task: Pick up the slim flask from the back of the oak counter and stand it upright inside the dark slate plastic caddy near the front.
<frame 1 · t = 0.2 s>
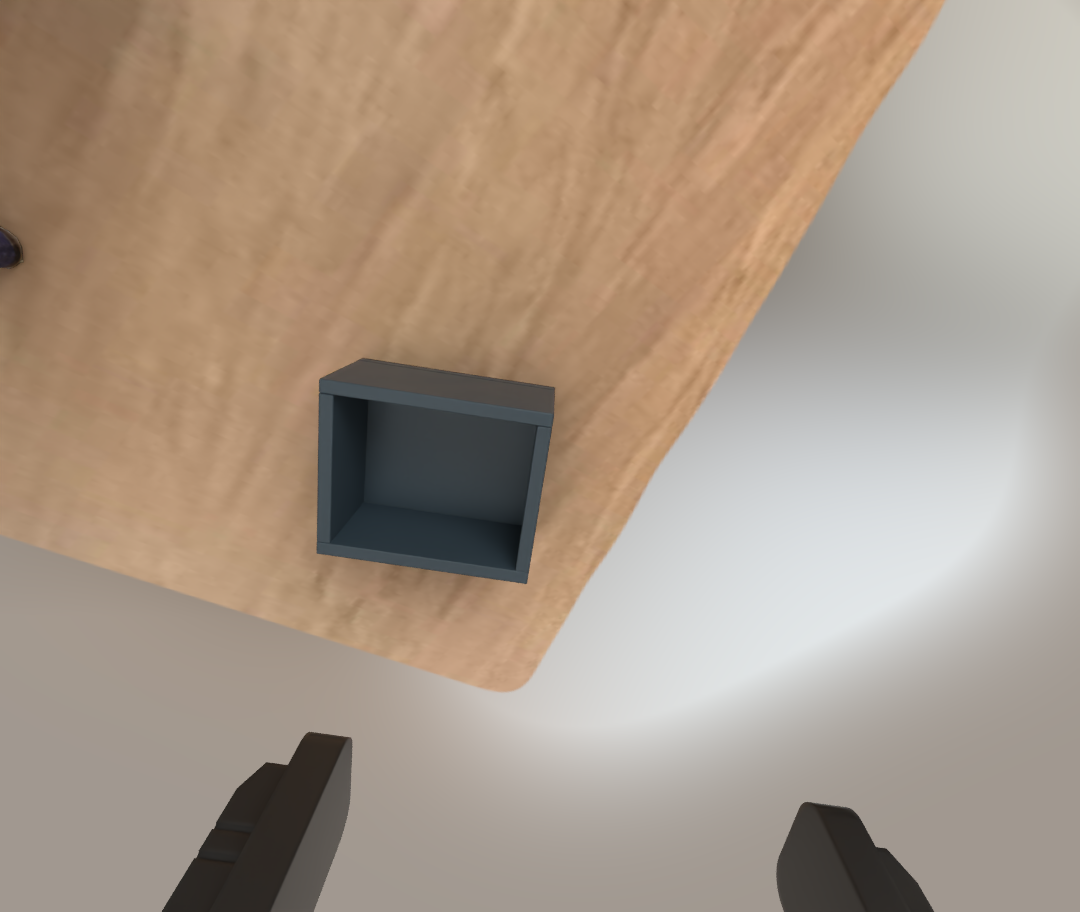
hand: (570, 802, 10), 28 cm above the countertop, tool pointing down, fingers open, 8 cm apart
caddy: (451, 449, 37), on the countertop
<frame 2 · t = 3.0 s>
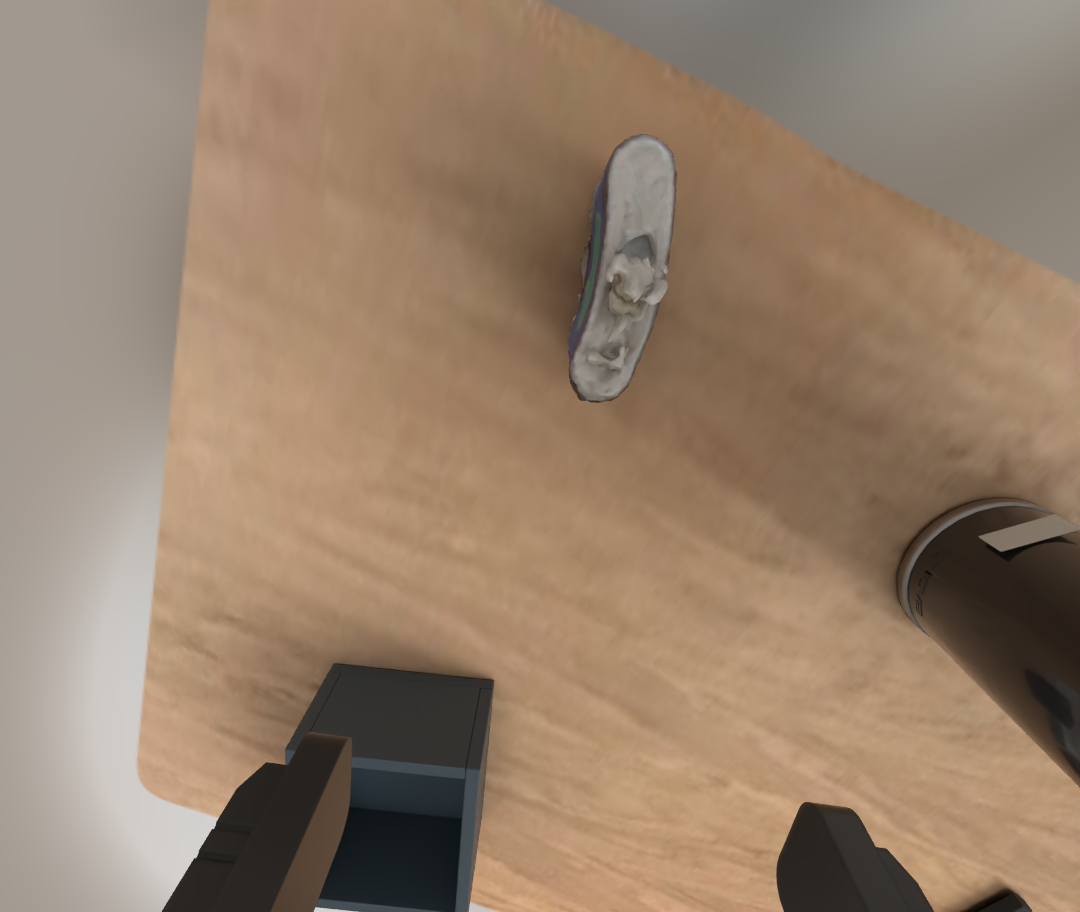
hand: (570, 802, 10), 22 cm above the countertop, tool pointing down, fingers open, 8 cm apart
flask: (605, 276, 28), on the countertop
caddy: (411, 744, 38), on the countertop
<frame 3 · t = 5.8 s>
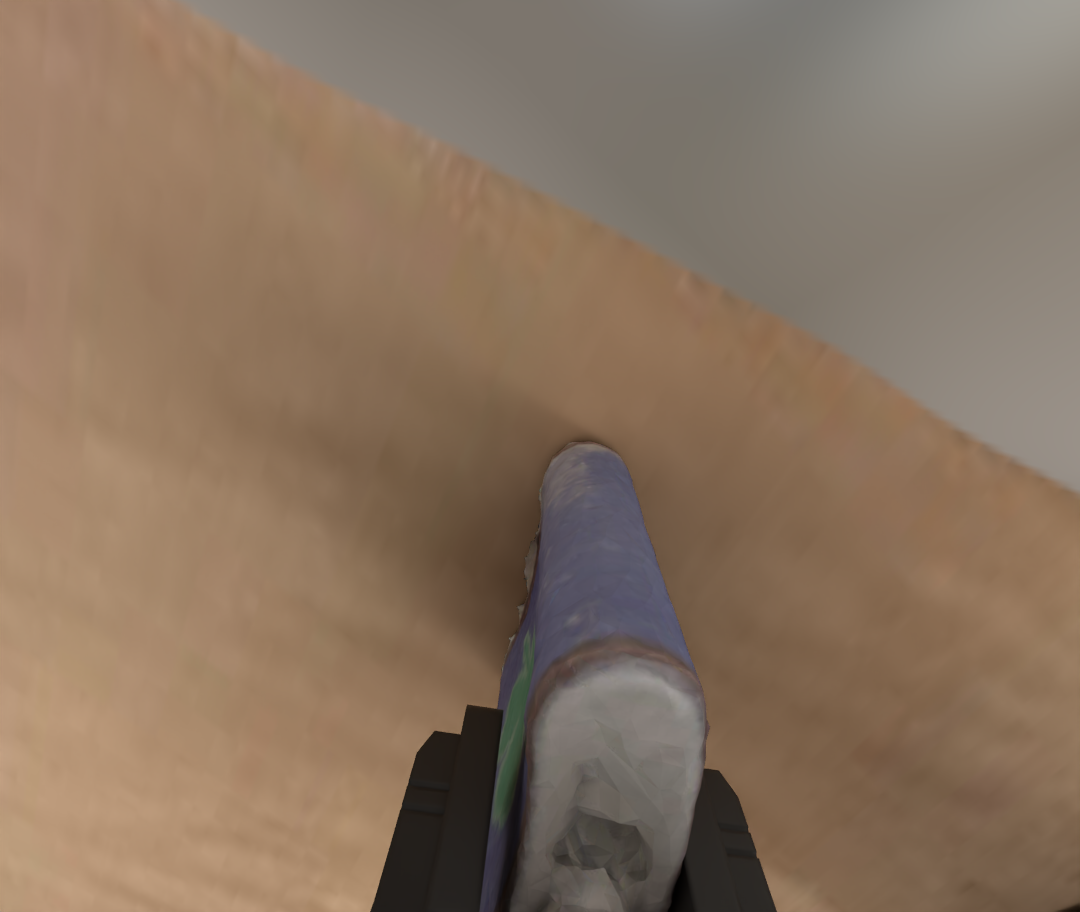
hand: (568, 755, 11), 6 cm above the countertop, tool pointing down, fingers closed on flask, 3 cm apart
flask: (564, 579, 17), on the countertop, touching gripper
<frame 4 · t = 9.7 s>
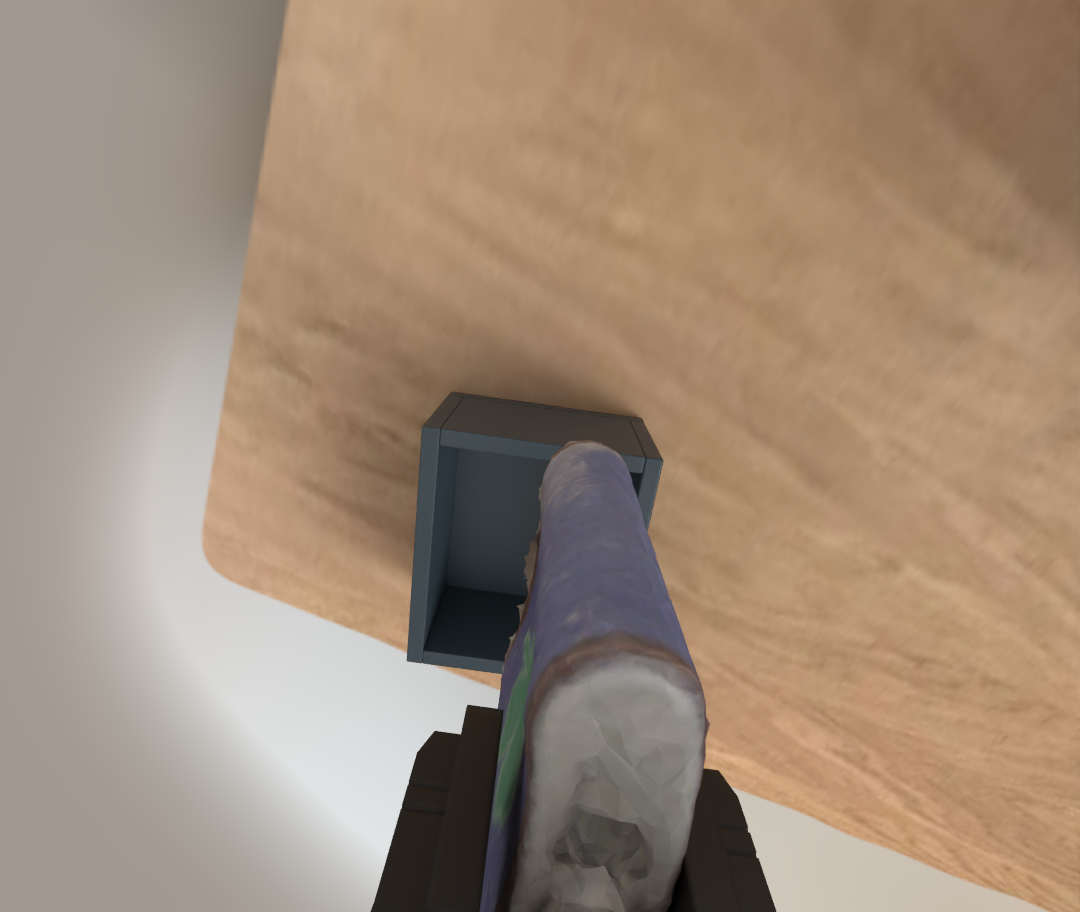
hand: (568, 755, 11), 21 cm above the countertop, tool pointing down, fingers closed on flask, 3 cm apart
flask: (565, 578, 17), point 15 cm above the countertop, touching gripper
caddy: (532, 508, 32), on the countertop
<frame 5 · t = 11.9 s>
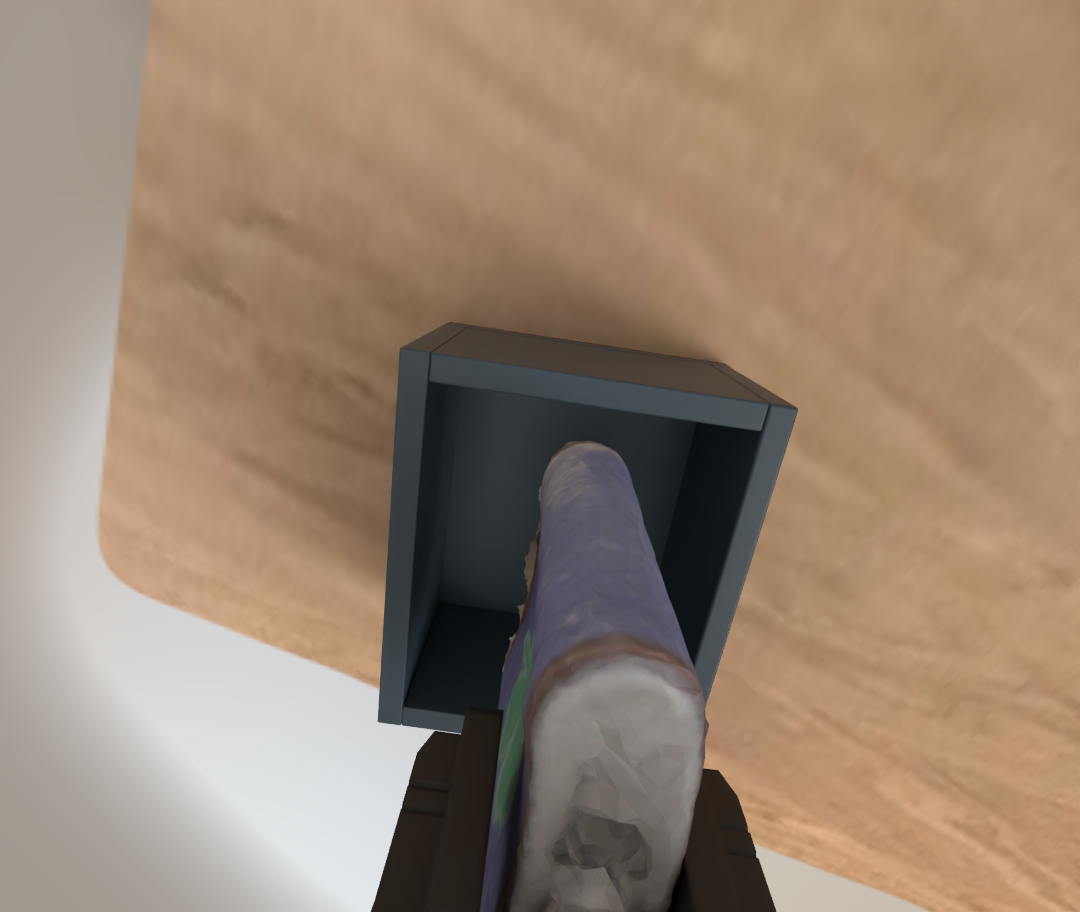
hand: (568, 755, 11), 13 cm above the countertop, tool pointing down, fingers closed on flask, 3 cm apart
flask: (564, 578, 17), point 7 cm above the countertop, touching gripper
caddy: (561, 494, 23), on the countertop
when the fingers open (7 cm above the countertop, at t = 13.6 s): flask stays where it is, resting on caddy.
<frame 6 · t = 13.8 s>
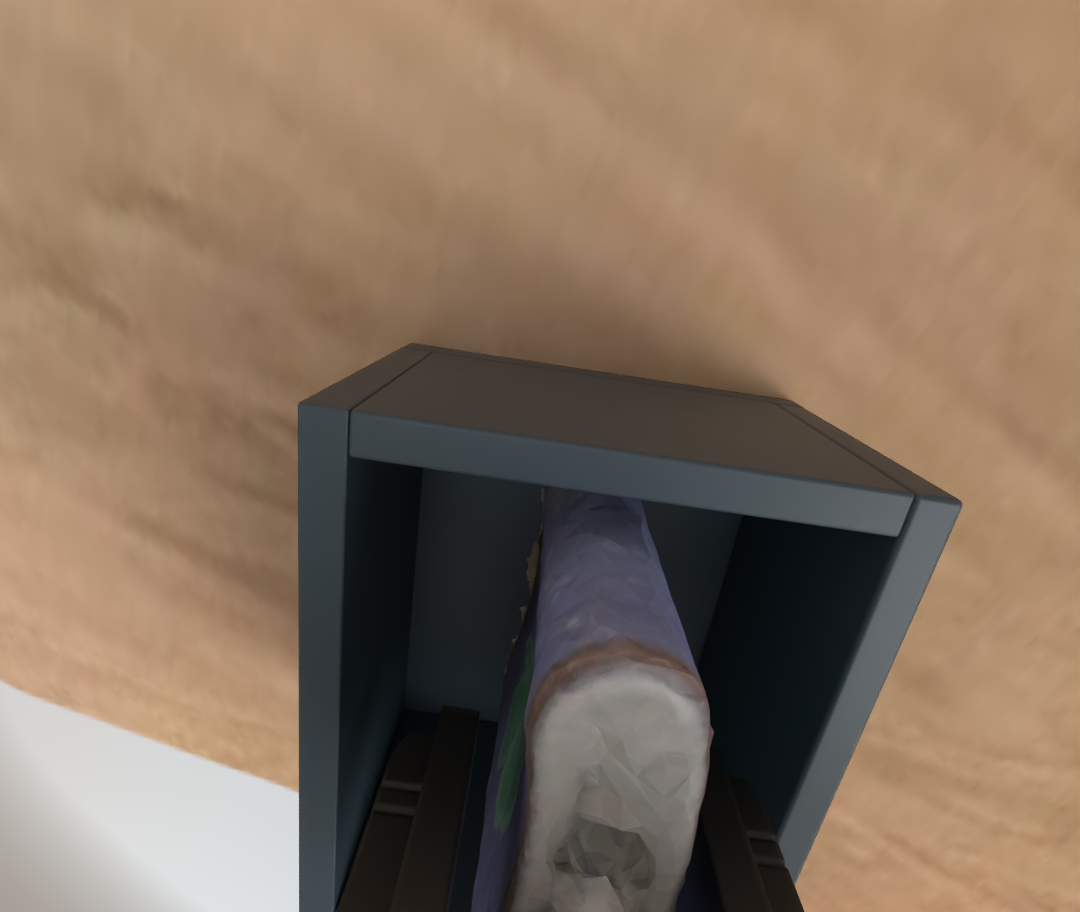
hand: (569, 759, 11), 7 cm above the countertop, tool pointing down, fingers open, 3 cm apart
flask: (567, 580, 16), point 1 cm above the countertop, touching caddy
caddy: (565, 571, 17), on the countertop
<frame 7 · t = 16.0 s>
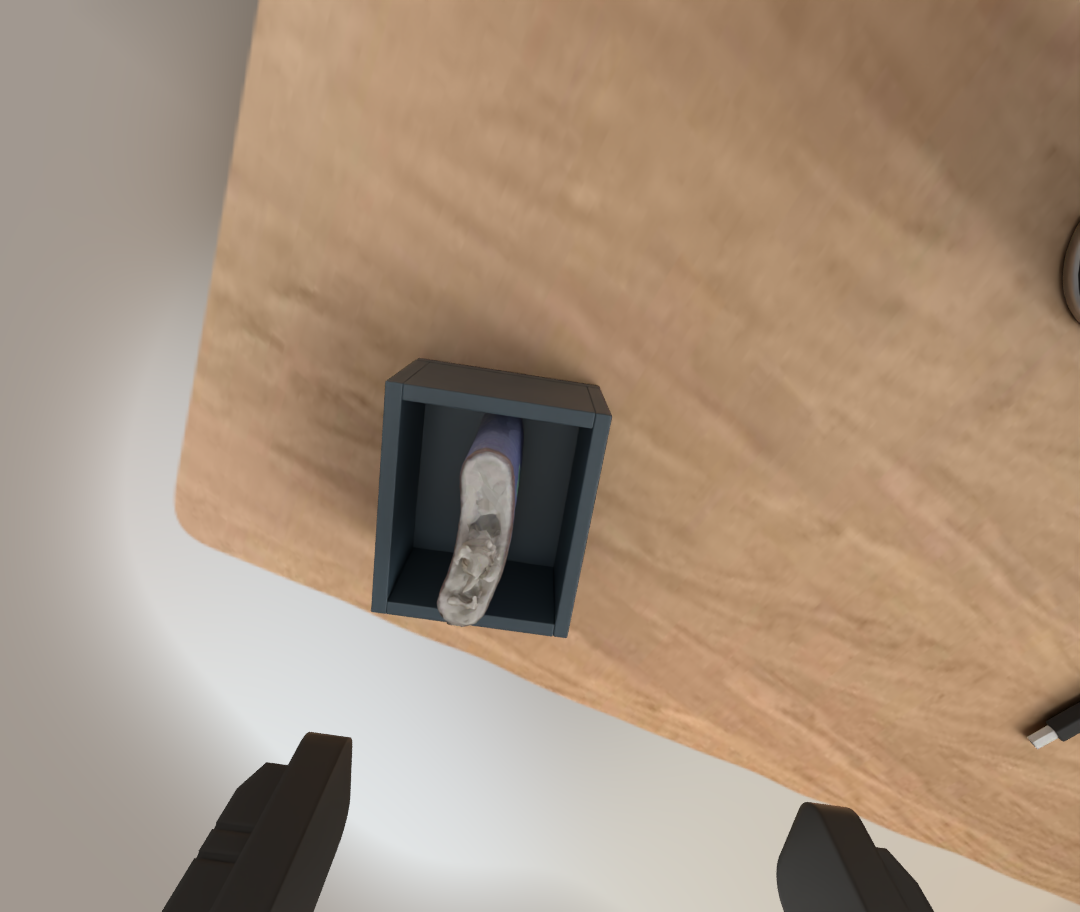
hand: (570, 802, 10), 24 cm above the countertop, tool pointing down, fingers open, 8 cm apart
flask: (495, 475, 33), point 1 cm above the countertop, touching caddy
caddy: (495, 472, 34), on the countertop
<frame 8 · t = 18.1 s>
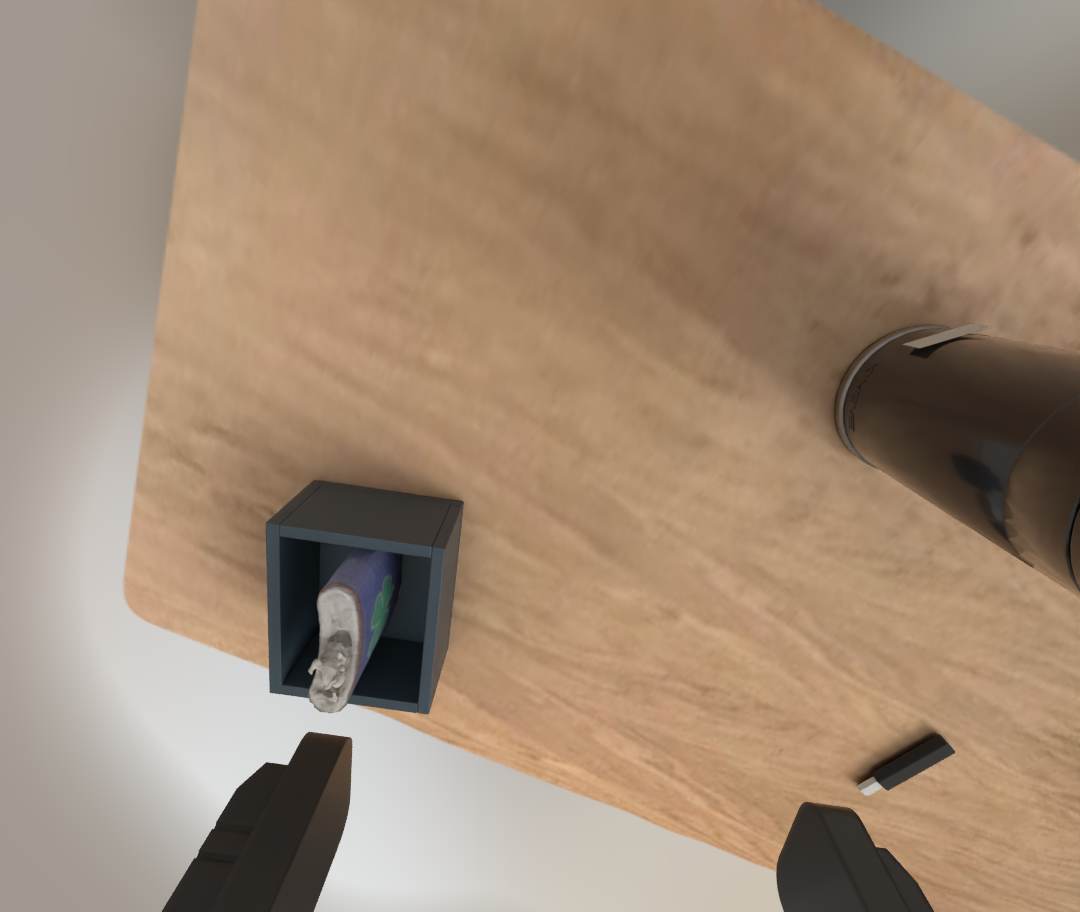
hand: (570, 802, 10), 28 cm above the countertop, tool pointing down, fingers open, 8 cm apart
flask: (382, 571, 40), point 1 cm above the countertop, touching caddy
usb flash drive: (909, 775, 44), point 1 cm above the countertop
caddy: (384, 568, 41), on the countertop
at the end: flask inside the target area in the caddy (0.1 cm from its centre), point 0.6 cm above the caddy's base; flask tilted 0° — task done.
